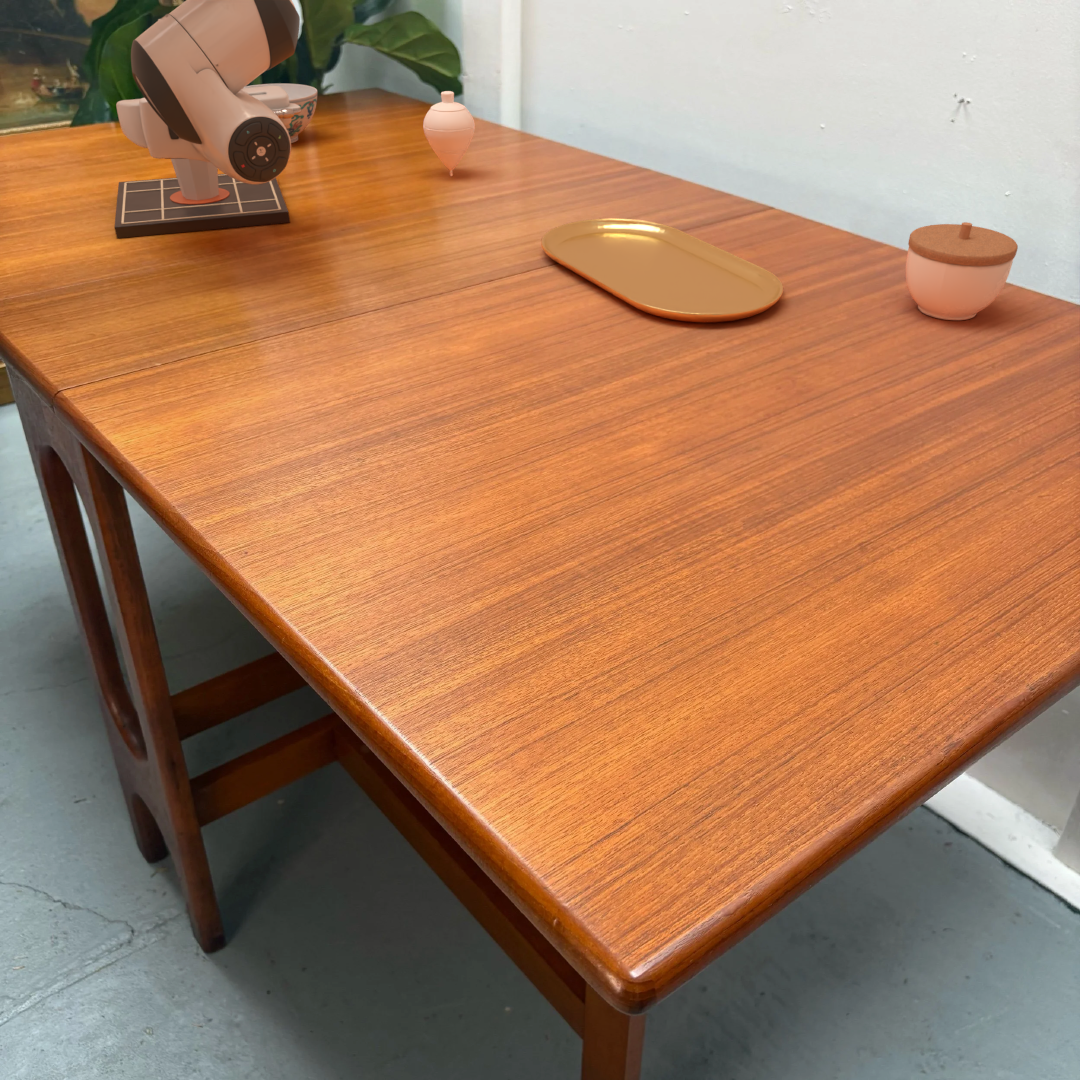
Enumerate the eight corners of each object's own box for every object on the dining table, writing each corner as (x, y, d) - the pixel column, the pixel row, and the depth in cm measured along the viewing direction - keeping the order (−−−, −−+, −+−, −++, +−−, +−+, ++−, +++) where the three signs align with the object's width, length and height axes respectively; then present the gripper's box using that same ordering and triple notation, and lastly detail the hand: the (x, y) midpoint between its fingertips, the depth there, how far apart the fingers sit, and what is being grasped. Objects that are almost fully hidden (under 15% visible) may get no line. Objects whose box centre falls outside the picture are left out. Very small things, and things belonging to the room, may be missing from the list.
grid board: (116, 238, 131) (114, 226, 130) (120, 192, 148) (118, 181, 147) (290, 222, 137) (288, 210, 136) (274, 180, 154) (272, 169, 153)
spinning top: (484, 179, 154) (482, 94, 147) (438, 185, 151) (433, 99, 144) (463, 167, 160) (460, 84, 153) (418, 173, 157) (412, 89, 150)
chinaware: (236, 132, 179) (228, 85, 175) (322, 128, 181) (317, 82, 177) (230, 153, 167) (221, 103, 163) (322, 149, 169) (317, 99, 165)
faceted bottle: (206, 186, 145) (174, 14, 133) (233, 194, 142) (204, 18, 129) (167, 196, 141) (131, 19, 129) (195, 204, 138) (160, 24, 125)
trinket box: (1010, 304, 112) (1033, 219, 107) (984, 337, 105) (1008, 247, 99) (912, 285, 117) (930, 202, 112) (882, 314, 110) (899, 228, 104)
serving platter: (636, 222, 137) (637, 210, 136) (817, 307, 112) (819, 293, 111) (514, 244, 129) (513, 232, 128) (678, 341, 104) (679, 327, 103)
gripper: (302, 84, 122) (268, 66, 132) (126, 102, 114) (103, 81, 124) (309, 139, 126) (275, 117, 136) (139, 160, 117) (115, 135, 127)
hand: (191, 100), depth 130 cm, fingers open, 8 cm apart
